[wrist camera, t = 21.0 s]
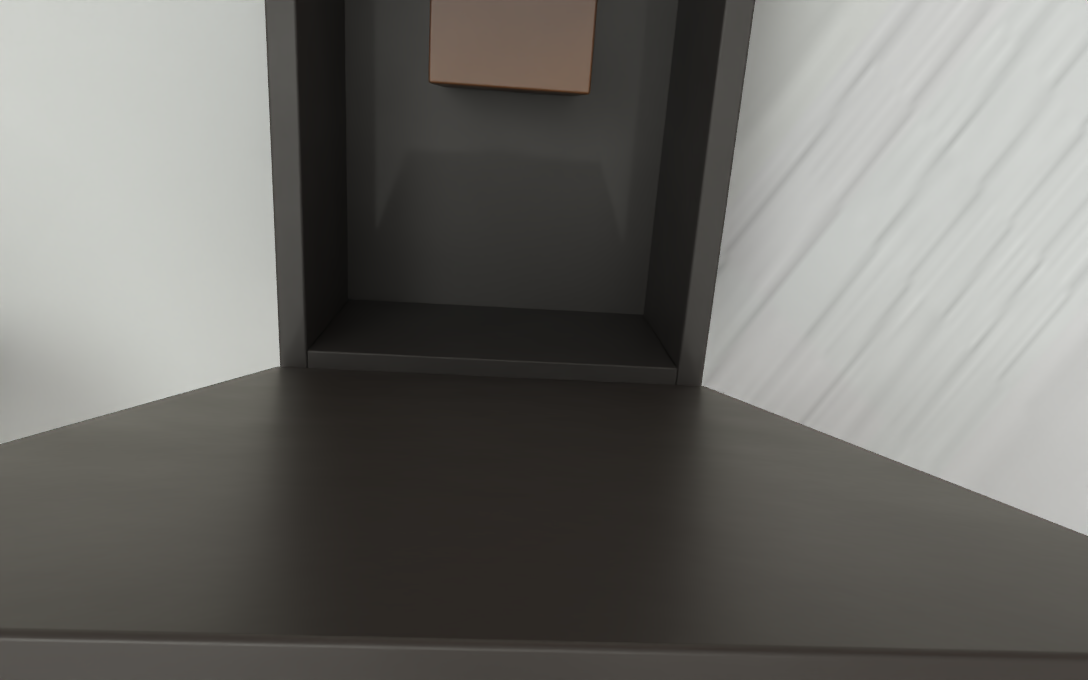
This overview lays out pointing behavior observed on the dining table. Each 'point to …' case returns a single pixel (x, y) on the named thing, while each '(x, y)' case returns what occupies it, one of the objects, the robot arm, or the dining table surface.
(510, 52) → the walnut block
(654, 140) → the dark gray box
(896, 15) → the dining table surface
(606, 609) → the box lid
